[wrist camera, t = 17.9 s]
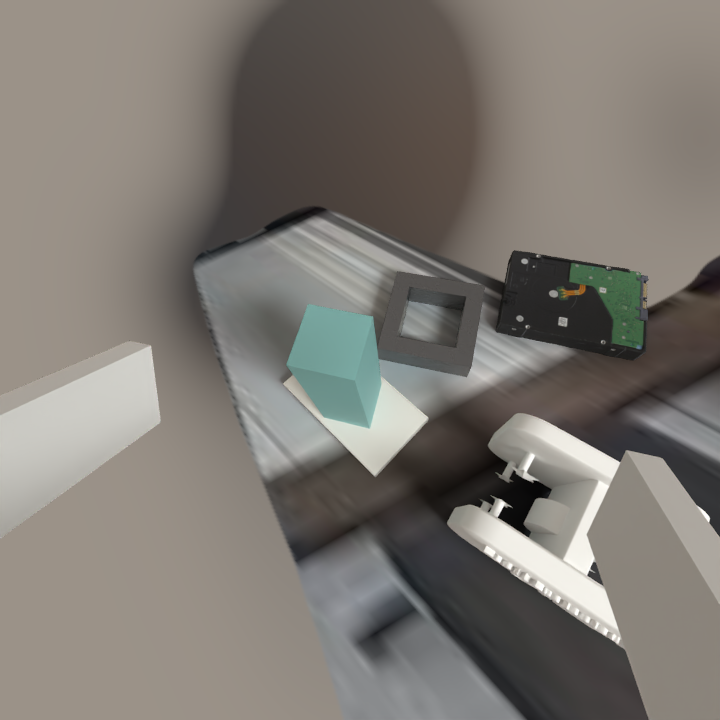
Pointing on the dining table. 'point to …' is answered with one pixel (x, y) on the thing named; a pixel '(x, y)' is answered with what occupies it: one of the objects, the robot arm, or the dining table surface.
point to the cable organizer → (548, 518)
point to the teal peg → (338, 364)
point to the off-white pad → (372, 426)
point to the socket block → (439, 295)
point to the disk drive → (575, 305)
